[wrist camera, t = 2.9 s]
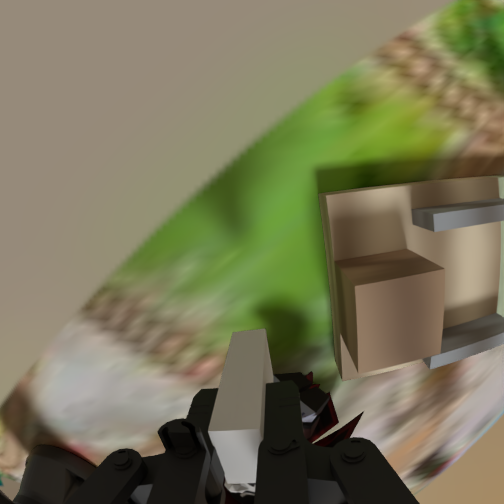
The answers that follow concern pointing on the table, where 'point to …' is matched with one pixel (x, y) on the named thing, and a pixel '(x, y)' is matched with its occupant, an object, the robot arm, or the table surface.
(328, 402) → the toy
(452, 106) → the table surface
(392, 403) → the table surface
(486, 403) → the table surface
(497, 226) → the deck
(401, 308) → the block
